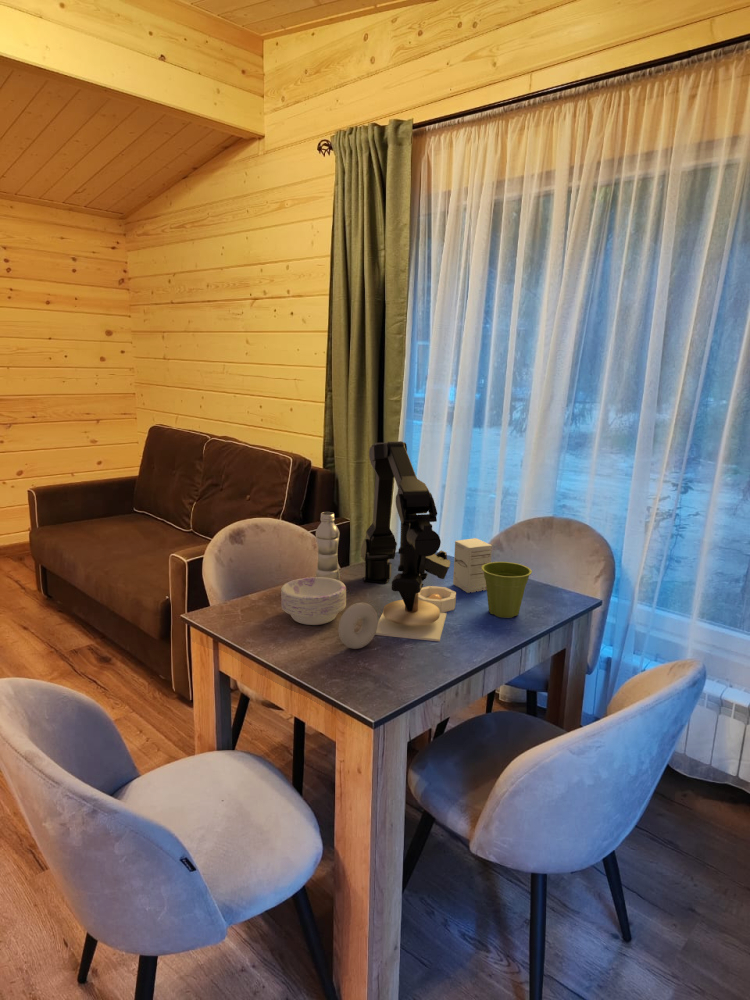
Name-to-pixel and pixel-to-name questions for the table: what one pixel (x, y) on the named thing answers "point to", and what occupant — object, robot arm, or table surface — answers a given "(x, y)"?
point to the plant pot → (505, 587)
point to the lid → (411, 612)
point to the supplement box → (471, 564)
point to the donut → (350, 620)
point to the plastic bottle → (327, 547)
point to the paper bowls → (313, 599)
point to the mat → (412, 629)
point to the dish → (439, 597)
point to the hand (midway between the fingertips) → (411, 607)
